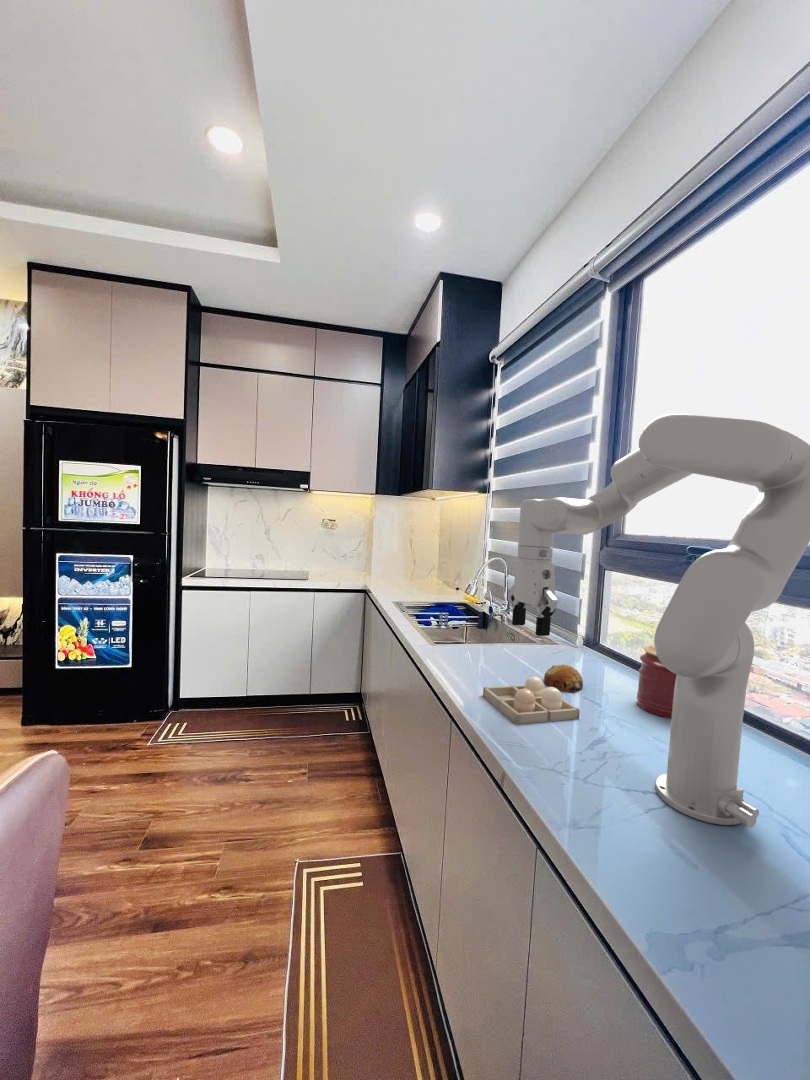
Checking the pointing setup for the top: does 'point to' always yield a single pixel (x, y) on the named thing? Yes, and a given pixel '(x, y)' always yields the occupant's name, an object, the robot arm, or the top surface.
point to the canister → (655, 685)
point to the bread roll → (564, 678)
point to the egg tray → (505, 703)
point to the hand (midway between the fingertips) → (529, 629)
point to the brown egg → (524, 701)
